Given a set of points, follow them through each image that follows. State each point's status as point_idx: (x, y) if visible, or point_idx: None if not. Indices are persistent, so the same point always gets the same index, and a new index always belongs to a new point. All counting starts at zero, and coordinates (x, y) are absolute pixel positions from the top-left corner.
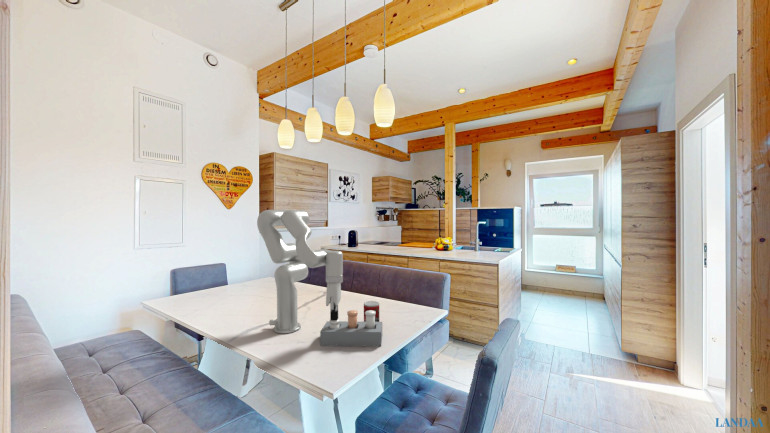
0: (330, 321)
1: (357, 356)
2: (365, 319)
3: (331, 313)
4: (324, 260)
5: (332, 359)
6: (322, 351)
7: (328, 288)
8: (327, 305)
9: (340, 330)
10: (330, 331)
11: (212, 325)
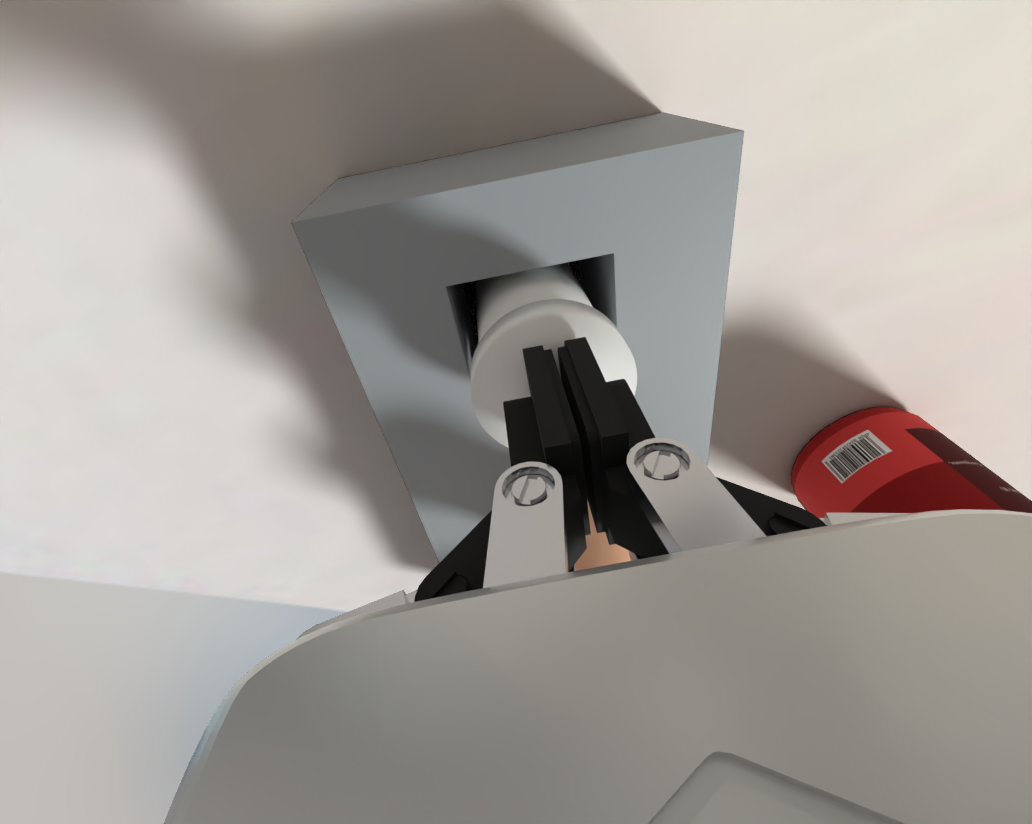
0: (482, 356)
1: (300, 525)
2: (862, 471)
3: (539, 433)
4: None
5: (159, 407)
6: (231, 265)
7: None
8: (405, 604)
9: (428, 450)
10: (358, 362)
11: None
